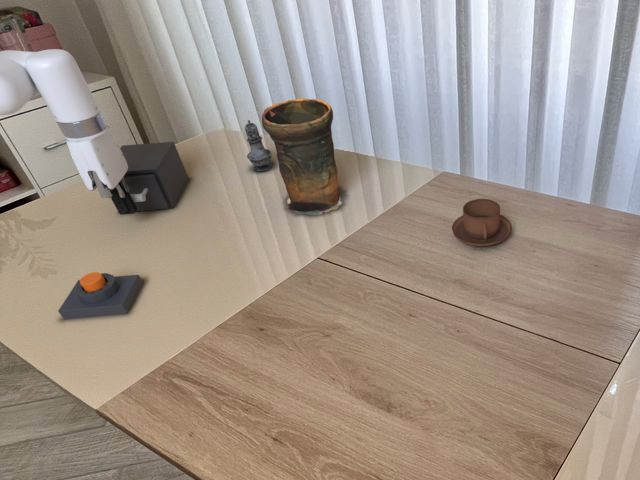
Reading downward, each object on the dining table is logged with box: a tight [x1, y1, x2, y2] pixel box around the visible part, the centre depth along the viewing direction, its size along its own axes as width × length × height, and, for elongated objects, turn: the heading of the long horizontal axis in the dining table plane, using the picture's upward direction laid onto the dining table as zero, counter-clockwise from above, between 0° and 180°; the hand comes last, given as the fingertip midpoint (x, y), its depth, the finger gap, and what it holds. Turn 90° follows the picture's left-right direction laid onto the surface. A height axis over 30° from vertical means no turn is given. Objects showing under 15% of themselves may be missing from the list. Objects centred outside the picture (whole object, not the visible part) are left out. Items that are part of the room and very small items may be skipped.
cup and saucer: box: [451, 198, 512, 247], centre depth 110 cm, size 12×12×6 cm
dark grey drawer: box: [125, 173, 170, 212], centre depth 122 cm, size 17×10×8 cm, turn 6°
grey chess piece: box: [244, 119, 275, 173], centre depth 132 cm, size 6×6×12 cm
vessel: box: [261, 97, 343, 217], centre depth 117 cm, size 14×14×20 cm
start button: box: [79, 271, 106, 292], centre depth 97 cm, size 4×4×2 cm
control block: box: [57, 272, 144, 320], centre depth 99 cm, size 11×9×4 cm
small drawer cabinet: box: [120, 141, 190, 212], centre depth 125 cm, size 14×12×10 cm
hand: (128, 211), depth 115 cm, fingers closed
